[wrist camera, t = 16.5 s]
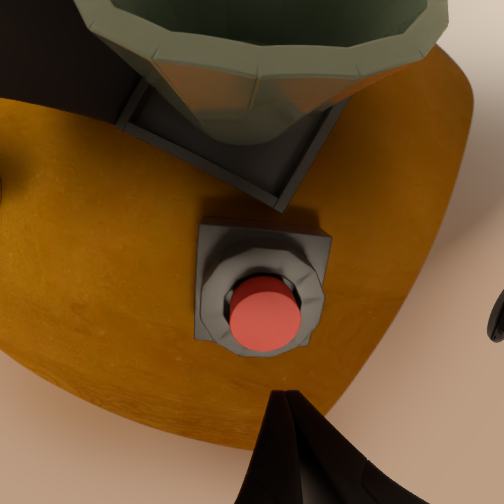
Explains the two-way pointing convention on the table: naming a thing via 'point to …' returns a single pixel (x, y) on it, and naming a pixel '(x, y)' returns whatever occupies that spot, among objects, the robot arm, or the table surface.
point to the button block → (257, 274)
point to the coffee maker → (139, 101)
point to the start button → (263, 314)
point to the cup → (263, 54)
